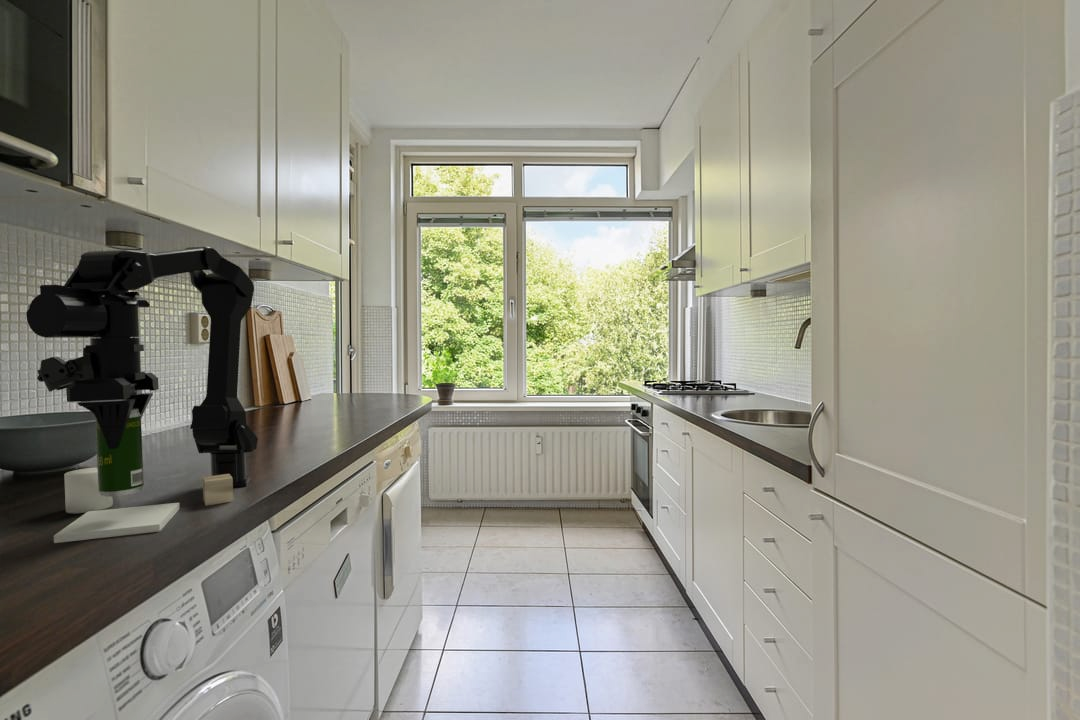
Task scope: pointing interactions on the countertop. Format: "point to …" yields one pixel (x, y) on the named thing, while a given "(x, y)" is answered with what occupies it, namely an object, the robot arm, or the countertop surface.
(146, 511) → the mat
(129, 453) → the beer can
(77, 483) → the rounded cream cube
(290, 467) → the countertop surface
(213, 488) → the maple block
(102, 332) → the robot arm
